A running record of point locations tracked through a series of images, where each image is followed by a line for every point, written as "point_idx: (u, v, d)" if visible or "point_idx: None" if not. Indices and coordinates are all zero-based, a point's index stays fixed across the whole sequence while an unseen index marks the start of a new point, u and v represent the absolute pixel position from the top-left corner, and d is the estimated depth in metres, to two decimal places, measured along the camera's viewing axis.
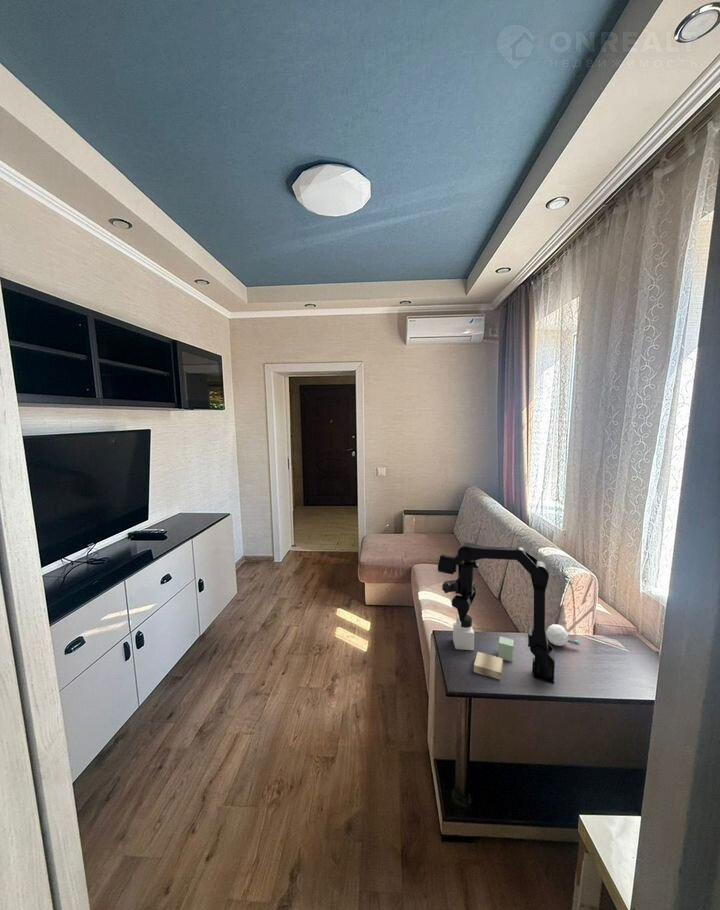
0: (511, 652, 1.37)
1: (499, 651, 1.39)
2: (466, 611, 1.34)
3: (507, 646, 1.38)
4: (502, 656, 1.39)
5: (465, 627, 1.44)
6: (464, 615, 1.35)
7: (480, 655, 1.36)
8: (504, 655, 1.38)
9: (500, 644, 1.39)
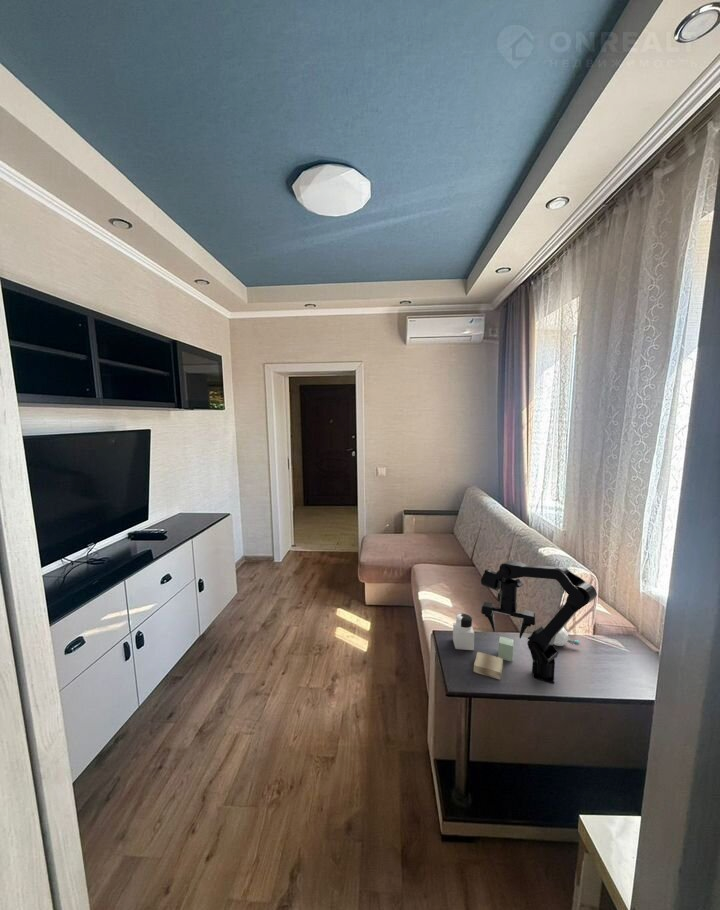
0: (511, 652, 1.37)
1: (499, 651, 1.39)
2: None
3: (507, 646, 1.38)
4: (502, 656, 1.39)
5: (465, 627, 1.44)
6: None
7: (480, 655, 1.36)
8: (504, 655, 1.38)
9: (500, 644, 1.39)
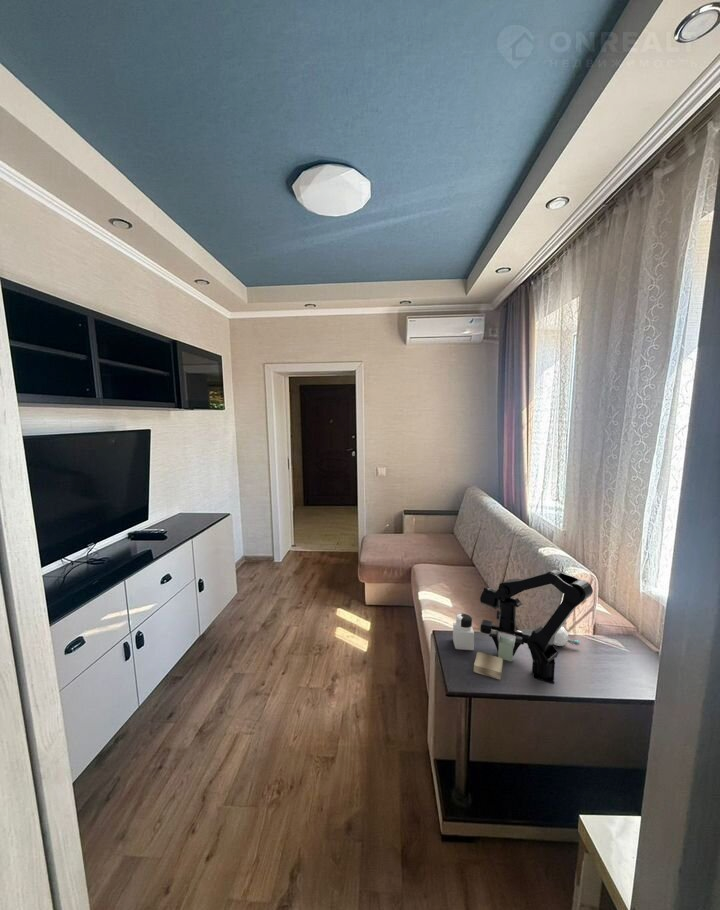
0: (511, 652, 1.37)
1: (499, 651, 1.39)
2: None
3: (507, 646, 1.38)
4: (502, 656, 1.39)
5: (465, 627, 1.44)
6: None
7: (480, 655, 1.36)
8: (504, 654, 1.38)
9: (500, 644, 1.39)
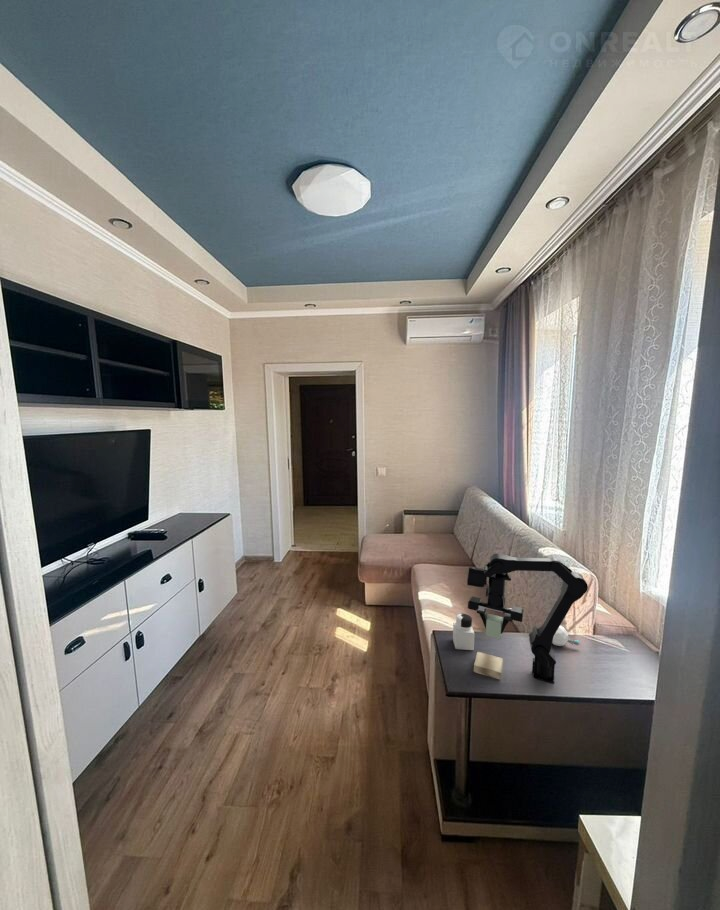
0: (499, 629, 1.31)
1: (487, 628, 1.33)
2: None
3: (495, 623, 1.32)
4: (490, 633, 1.33)
5: (465, 627, 1.44)
6: None
7: (480, 655, 1.36)
8: (492, 632, 1.32)
9: (488, 621, 1.33)
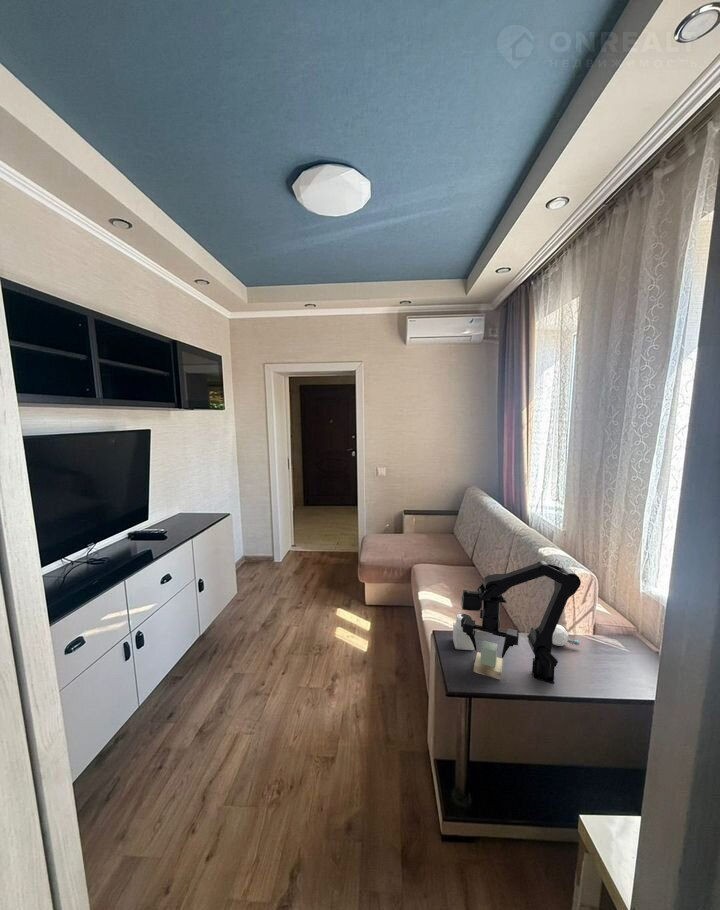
0: (494, 657, 1.29)
1: (482, 656, 1.31)
2: None
3: (490, 651, 1.30)
4: (485, 661, 1.31)
5: None
6: None
7: (480, 655, 1.36)
8: (487, 660, 1.30)
9: (483, 649, 1.31)
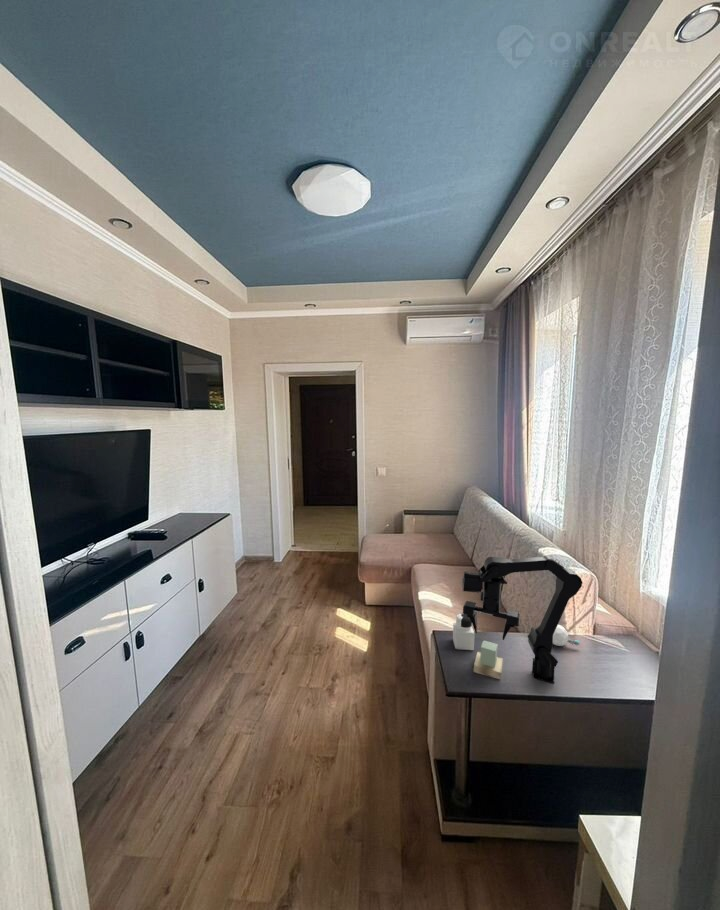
0: (494, 657, 1.29)
1: (481, 656, 1.31)
2: None
3: (489, 651, 1.30)
4: (484, 661, 1.31)
5: (465, 627, 1.44)
6: None
7: None
8: (487, 660, 1.30)
9: (482, 648, 1.31)
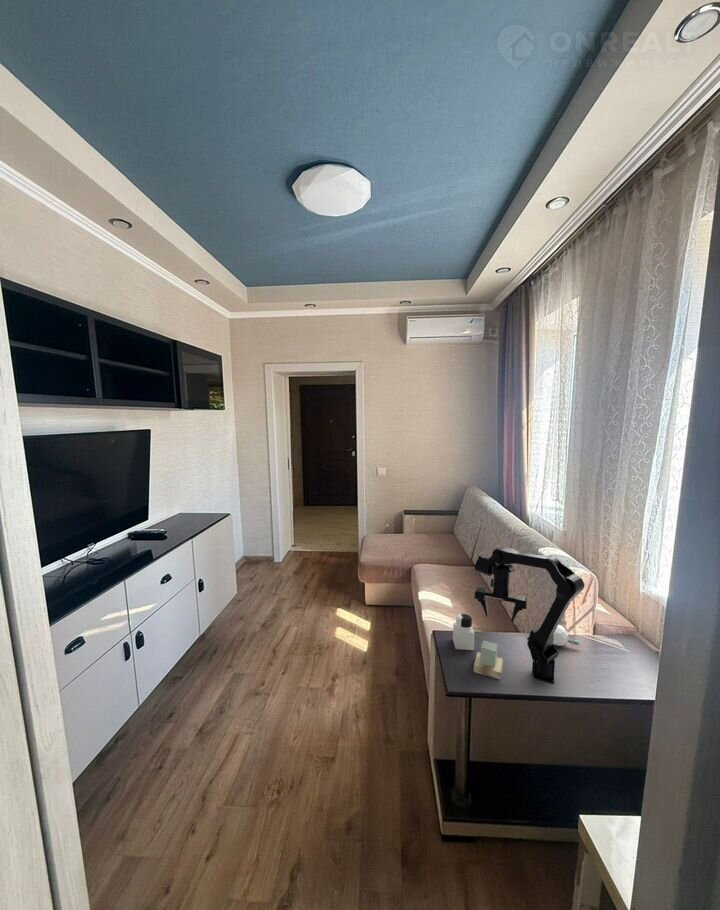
0: (493, 657, 1.29)
1: (481, 656, 1.31)
2: None
3: (489, 651, 1.30)
4: (484, 661, 1.31)
5: (465, 627, 1.44)
6: None
7: None
8: (487, 660, 1.30)
9: (482, 649, 1.31)
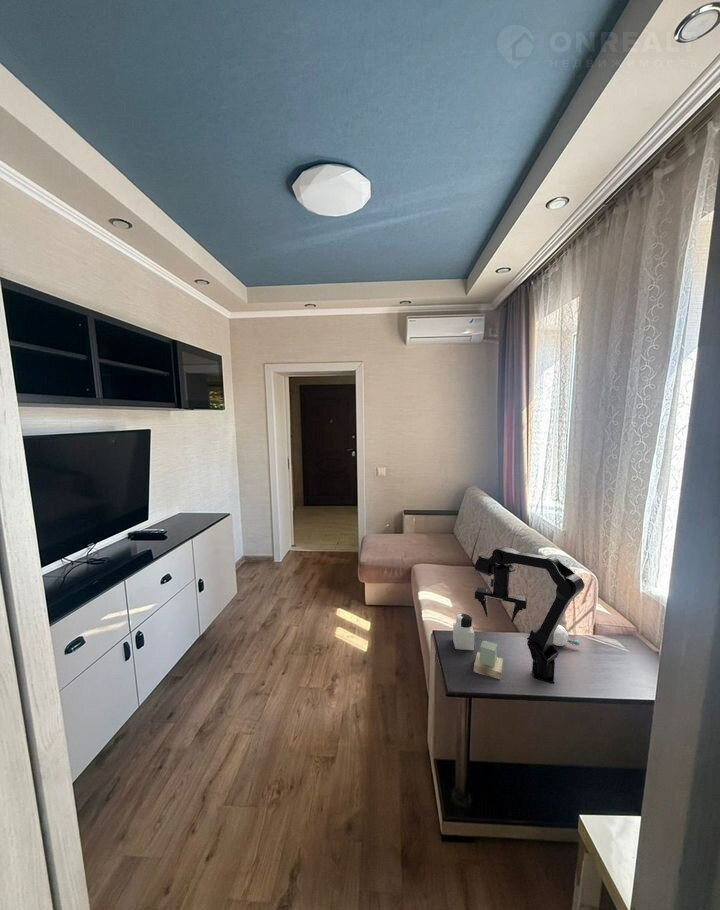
0: (493, 657, 1.29)
1: (481, 655, 1.31)
2: None
3: (489, 650, 1.30)
4: (484, 661, 1.31)
5: (465, 627, 1.44)
6: None
7: None
8: (486, 659, 1.31)
9: (482, 648, 1.31)
